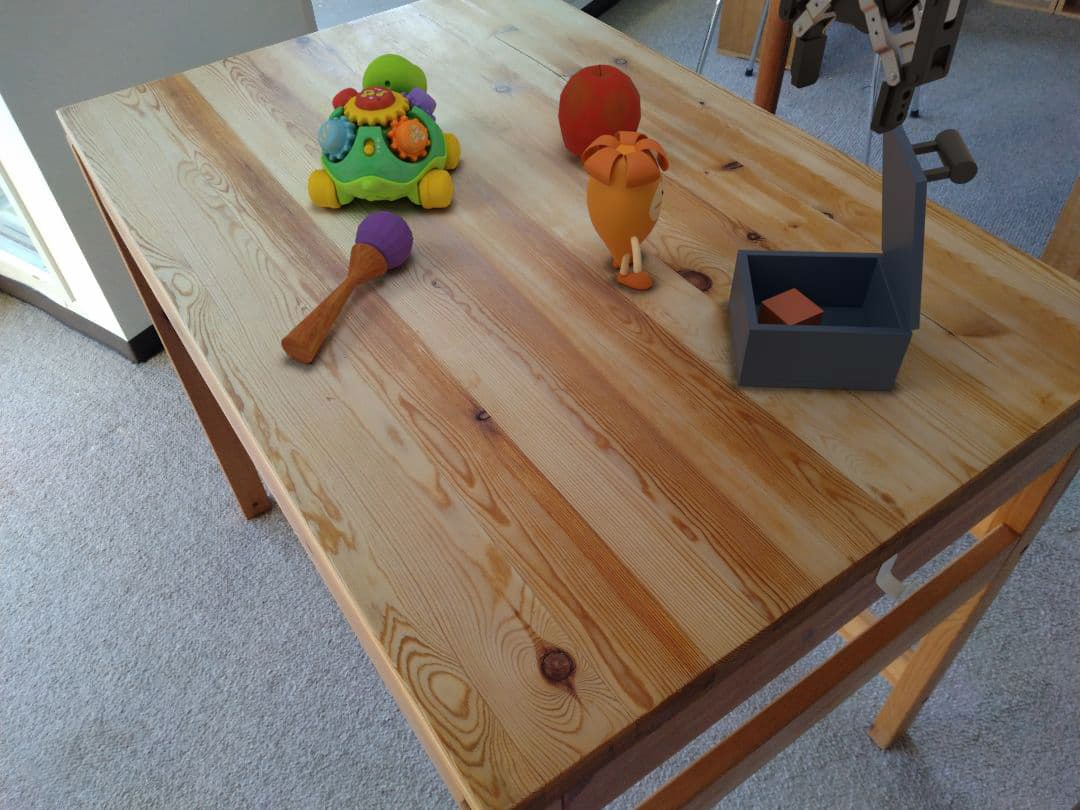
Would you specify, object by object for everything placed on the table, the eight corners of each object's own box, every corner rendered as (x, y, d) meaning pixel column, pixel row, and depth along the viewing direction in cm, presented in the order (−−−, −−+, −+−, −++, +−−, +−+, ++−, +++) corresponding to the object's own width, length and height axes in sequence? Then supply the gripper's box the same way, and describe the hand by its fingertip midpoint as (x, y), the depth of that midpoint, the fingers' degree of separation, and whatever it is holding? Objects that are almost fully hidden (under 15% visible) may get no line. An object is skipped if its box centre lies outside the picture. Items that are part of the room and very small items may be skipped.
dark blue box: (738, 386, 77) (749, 329, 72) (728, 305, 85) (737, 249, 80) (891, 391, 76) (913, 334, 71) (866, 309, 84) (884, 252, 80)
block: (815, 344, 80) (824, 311, 77) (782, 358, 78) (790, 325, 76) (786, 320, 82) (794, 287, 79) (754, 334, 81) (761, 301, 78)
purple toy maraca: (258, 324, 79) (365, 199, 90) (286, 369, 83) (384, 244, 95) (308, 330, 76) (411, 200, 88) (334, 376, 81) (429, 247, 92)
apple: (608, 184, 102) (611, 91, 93) (541, 159, 106) (539, 69, 98) (653, 148, 107) (660, 58, 99) (587, 126, 112) (589, 38, 103)
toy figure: (669, 303, 86) (683, 171, 75) (592, 313, 85) (594, 180, 74) (641, 236, 94) (650, 108, 83) (570, 244, 93) (570, 116, 82)
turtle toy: (469, 127, 112) (461, 38, 104) (451, 227, 96) (440, 131, 88) (343, 128, 113) (325, 39, 104) (304, 228, 97) (278, 132, 88)
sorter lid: (915, 182, 61) (994, 167, 60) (882, 106, 69) (951, 92, 68) (909, 330, 71) (976, 321, 70) (881, 249, 79) (940, 239, 78)
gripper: (1042, -127, 49) (951, 133, 61) (864, -175, 58) (815, 60, 69) (948, -105, 47) (872, 161, 58) (778, -159, 55) (742, 82, 67)
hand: (841, 106), depth 64 cm, fingers open, 8 cm apart
